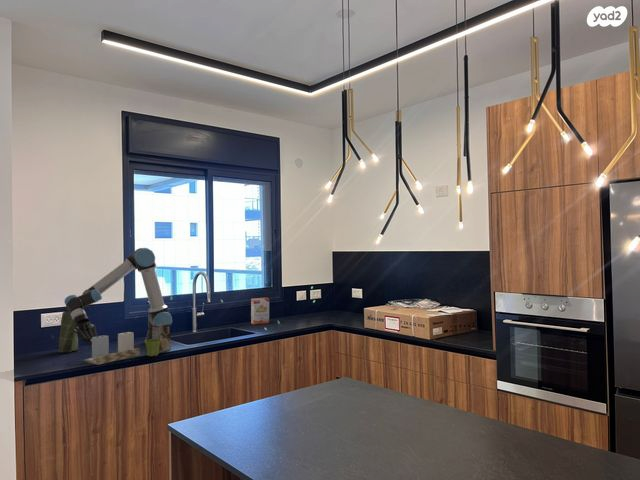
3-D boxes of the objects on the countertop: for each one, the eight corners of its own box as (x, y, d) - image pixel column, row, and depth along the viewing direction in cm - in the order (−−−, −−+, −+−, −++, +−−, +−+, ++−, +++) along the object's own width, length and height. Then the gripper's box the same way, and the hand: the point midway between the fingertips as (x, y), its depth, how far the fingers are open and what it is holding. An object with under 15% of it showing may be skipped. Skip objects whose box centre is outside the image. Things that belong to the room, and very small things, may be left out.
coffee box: (163, 348, 292) (163, 323, 293) (170, 349, 289) (170, 324, 290) (151, 351, 284) (151, 325, 285) (159, 352, 281) (159, 326, 282)
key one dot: (128, 352, 278) (128, 331, 278) (133, 352, 275) (133, 332, 275) (118, 354, 272) (117, 333, 272) (123, 355, 269) (123, 334, 270)
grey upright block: (103, 356, 268) (103, 334, 268) (108, 357, 265) (108, 335, 266) (91, 358, 262) (91, 336, 262) (97, 359, 260) (96, 337, 260)
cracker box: (253, 324, 377) (253, 299, 377) (251, 323, 382) (250, 298, 382) (269, 323, 384) (269, 297, 384) (266, 322, 389) (266, 297, 389)
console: (125, 352, 284) (125, 345, 284) (139, 355, 276) (139, 348, 276) (83, 361, 262) (83, 354, 262) (98, 364, 255) (98, 357, 255)
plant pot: (155, 357, 270) (155, 342, 270) (141, 356, 272) (141, 341, 272) (164, 353, 279) (164, 339, 280) (150, 353, 281) (150, 338, 281)
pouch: (61, 350, 291) (60, 310, 291) (82, 349, 294) (81, 309, 294) (55, 354, 280) (55, 312, 281) (77, 353, 283) (77, 311, 284)
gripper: (88, 320, 282) (104, 351, 273) (66, 323, 271) (82, 355, 262) (93, 312, 279) (109, 343, 270) (71, 315, 268) (87, 347, 259)
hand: (96, 349), depth 266 cm, fingers closed
